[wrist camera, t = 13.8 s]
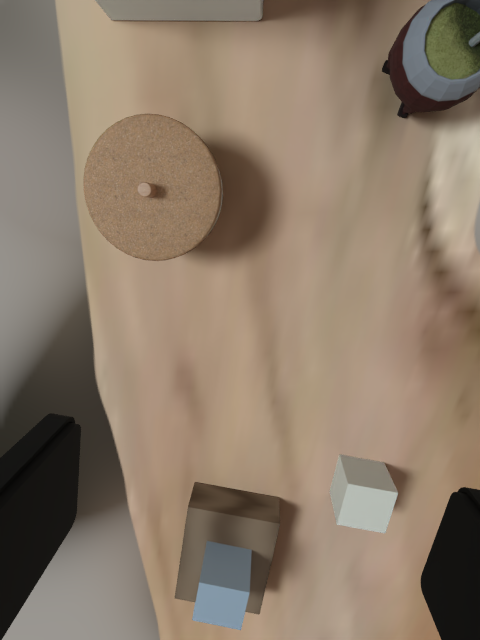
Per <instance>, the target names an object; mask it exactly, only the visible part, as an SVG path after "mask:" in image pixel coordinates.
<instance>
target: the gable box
mask: <svg viewBox="0 0 480 640" xmlns="http://www.w3.org/2000/svg"><path fill="white" fill-rule="evenodd" d="M95 1H96V2H97V3H98V4H99V6H100V7H101V8H102V9H103V11H104V12H105V13H106V14H107V16H108V17H109V18H110V19H111V20H166V21H259V20H260V19H261V18H262V17H263V0H95Z"/></svg>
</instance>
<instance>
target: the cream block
mask: <svg viewBox="0 0 480 640" xmlns="http://www.w3.org/2000/svg"><path fill="white" fill-rule="evenodd" d="M397 495H398V491H397V489H396V487H395V485H394V483H393V481H392V478H391V476H390V474H389V472H388V470H387V468H386V465H385V463H384V462H379V461H374V460H368V459H363V458H357V457H352V456H346V455H340V454H339V458H338V461H337V465H336V469H335V473H334V477H333V480H332V484H331V488H330V496H331V500H332V505H333V509H334V514H335V518H336V523H337V525H342V526H348V527H353V528H359V529H364V530H370V531H375V532H380V533H386V529H387V526H388V523H389V520H390V517H391V514H392V511H393V508H394V505H395V501H396V498H397Z"/></svg>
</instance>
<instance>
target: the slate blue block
mask: <svg viewBox="0 0 480 640" xmlns="http://www.w3.org/2000/svg"><path fill="white" fill-rule="evenodd" d="M251 553H252V550H250V549H245V548H240V547H235V546H230V545H225V544H220V543H215V542H210V541H207V543H206V549H205V554H204V559H203V565H202V570H201V575H200V581H199V586H198V591H197V597H196V602H195V608H194V613H193V618H192V620H194V621H199V622H204V623H208V624H213V625H218V626H223V627H228V628H233V629H238V630H241V627H242V623H243V619H244V614H245V610H246V606H247V602H248V597H249V593H250V574H251Z"/></svg>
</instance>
